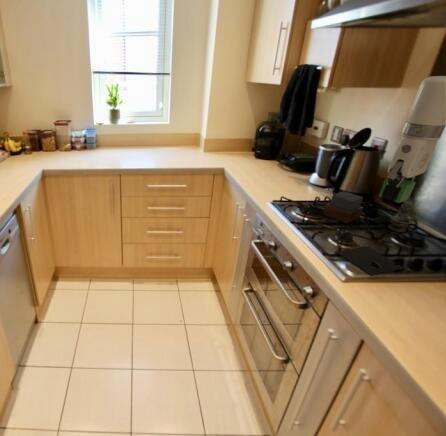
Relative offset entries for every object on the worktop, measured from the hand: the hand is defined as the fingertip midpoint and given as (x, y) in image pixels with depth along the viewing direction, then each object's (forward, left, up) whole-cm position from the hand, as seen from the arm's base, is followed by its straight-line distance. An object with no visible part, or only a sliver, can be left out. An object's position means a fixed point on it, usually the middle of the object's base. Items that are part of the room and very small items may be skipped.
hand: (394, 196), depth 87 cm
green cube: (0, 0, 0) cm, 0 cm away
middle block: (-16, -25, -17) cm, 34 cm away
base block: (-16, -25, -21) cm, 37 cm away
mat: (0, +1, -21) cm, 21 cm away
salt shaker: (-27, -12, -21) cm, 36 cm away
